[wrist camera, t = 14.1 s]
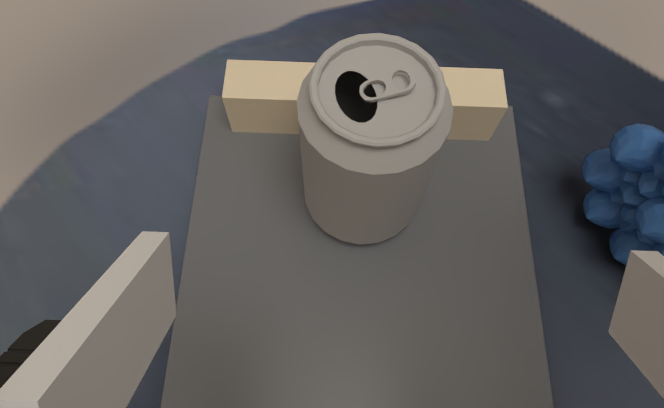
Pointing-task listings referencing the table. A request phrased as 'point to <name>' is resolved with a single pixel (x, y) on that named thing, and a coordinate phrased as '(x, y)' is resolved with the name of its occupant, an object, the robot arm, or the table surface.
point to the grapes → (628, 190)
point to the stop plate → (355, 269)
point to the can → (370, 135)
